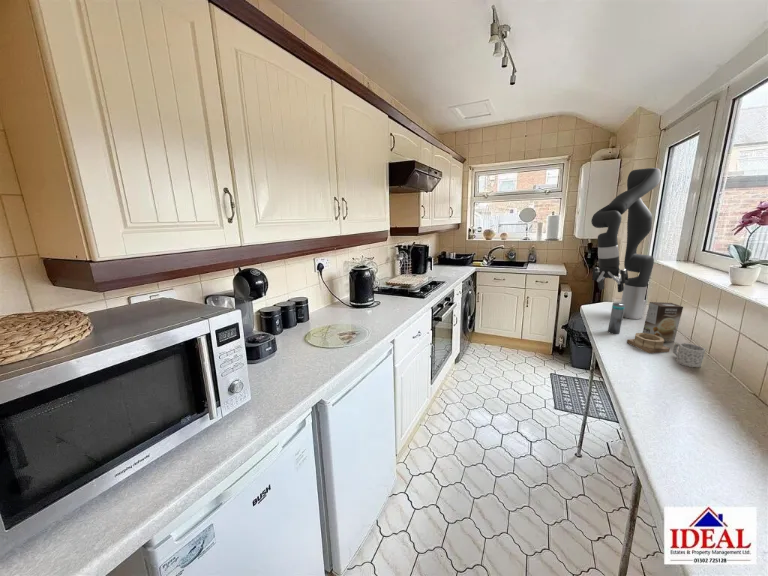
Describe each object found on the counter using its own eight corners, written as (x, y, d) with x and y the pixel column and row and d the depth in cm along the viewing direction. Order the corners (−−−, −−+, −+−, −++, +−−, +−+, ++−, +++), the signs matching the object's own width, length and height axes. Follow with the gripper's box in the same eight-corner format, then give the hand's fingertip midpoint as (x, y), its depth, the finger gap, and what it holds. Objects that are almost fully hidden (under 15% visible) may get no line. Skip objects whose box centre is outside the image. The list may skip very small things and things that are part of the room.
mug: (706, 368, 108) (710, 351, 106) (686, 367, 108) (691, 350, 107) (681, 355, 118) (685, 339, 116) (663, 354, 118) (667, 339, 116)
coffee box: (652, 341, 130) (660, 306, 126) (641, 335, 136) (648, 301, 132) (675, 342, 129) (683, 306, 125) (663, 335, 135) (671, 302, 131)
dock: (645, 341, 130) (647, 331, 129) (669, 351, 120) (671, 341, 119) (626, 342, 129) (628, 333, 128) (649, 353, 119) (651, 342, 118)
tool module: (613, 330, 142) (619, 302, 139) (622, 333, 138) (627, 305, 135) (605, 330, 142) (610, 302, 138) (613, 334, 138) (618, 305, 134)
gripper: (631, 254, 128) (633, 290, 131) (599, 253, 142) (601, 286, 145) (618, 258, 126) (621, 294, 129) (587, 257, 140) (589, 290, 143)
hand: (610, 290), depth 137 cm, fingers open, 8 cm apart
